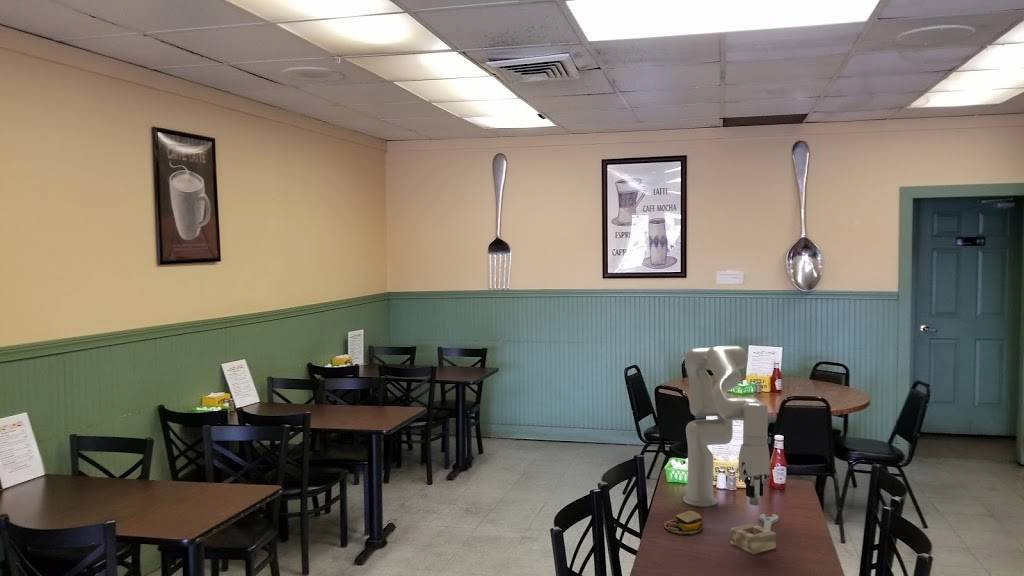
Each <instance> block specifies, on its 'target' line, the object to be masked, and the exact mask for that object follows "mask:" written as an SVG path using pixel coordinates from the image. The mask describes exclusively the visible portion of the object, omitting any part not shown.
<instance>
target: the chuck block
mask: <svg viewBox="0 0 1024 576" xmlns="http://www.w3.org/2000/svg"><path fill="white" fill-rule="evenodd" d="M763 527H764V526H763ZM763 527H762V526H760V525H758V524H755V523H748V524H743V525H740V526H736V527H731V528H730V539H729V540H730V541H729V542H730V544H731V545H733V546H735V547H737V548H738V549H741V550H743V551H746V552H747V553H750V554H752V555H755V554H759V553H763V552H766V551H770V550H773V549H776V548H777V547H776V546H777V545H776V543H777V533H776V532H774V531H772V530H771V531H770V530H767V529H765V528H763Z"/></svg>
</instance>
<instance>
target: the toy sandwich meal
mask: <svg viewBox="0 0 1024 576" xmlns="http://www.w3.org/2000/svg"><path fill="white" fill-rule="evenodd" d="M703 525H704V522H703V518H702V515H701V514H699V513H698V512H696V511H694V510H687V511H683V512H682V513H679V514H676V515H675V519H670V520H667V521H665V523H664V525H663V526H664V527H665V529H666V530H668V531H669V532H670V531H671V533H673V534H676V533H677V534H678V535H682V534H690V535H694V534H695V535H696V534H698V533H699V532H700V531H701V530H702V526H703ZM677 534H676V535H677Z"/></svg>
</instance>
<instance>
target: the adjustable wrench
mask: <svg viewBox="0 0 1024 576" xmlns="http://www.w3.org/2000/svg"><path fill="white" fill-rule="evenodd" d="M758 521H759V522H762V523H763V528H765V529H767V530H770V531H772V529H771V528H772V525H773V524H775V523H778V522H779V516H778V514H774V513H771V516H767V515H766V514H765V513H761V514H760V515H759V517H758Z"/></svg>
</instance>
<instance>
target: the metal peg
mask: <svg viewBox="0 0 1024 576" xmlns="http://www.w3.org/2000/svg"><path fill="white" fill-rule="evenodd" d="M753 486H754V487H755V497H754V498H750V497H749V500H748V501H749V502H748V504H749V505H751V506H759V505H760V504H761V502H760V500H761V498H760V497H761V496H760V475H758V476H754V482H753Z"/></svg>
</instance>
